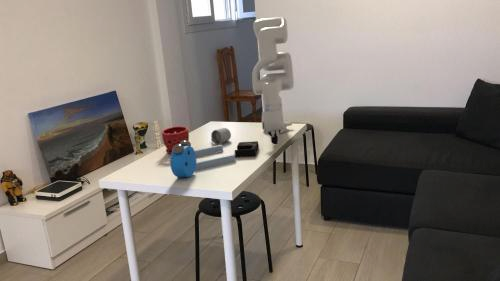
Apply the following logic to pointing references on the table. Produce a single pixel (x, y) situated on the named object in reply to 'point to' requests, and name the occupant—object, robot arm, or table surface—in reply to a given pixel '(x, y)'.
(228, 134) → the ceramic mug
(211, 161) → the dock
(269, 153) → the table surface
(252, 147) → the battery charger
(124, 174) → the table surface
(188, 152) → the alarm clock
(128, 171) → the table surface
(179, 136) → the plant pot
